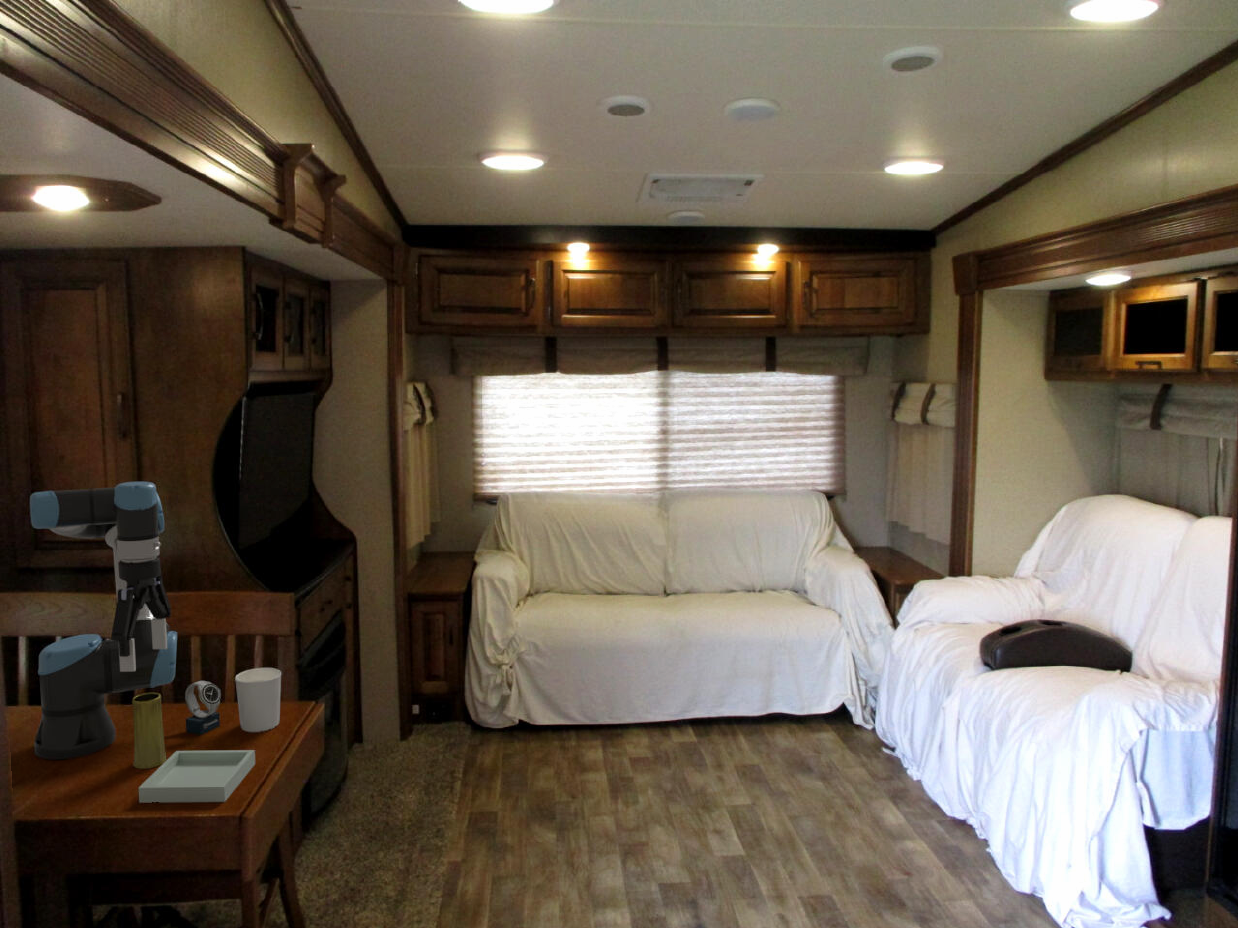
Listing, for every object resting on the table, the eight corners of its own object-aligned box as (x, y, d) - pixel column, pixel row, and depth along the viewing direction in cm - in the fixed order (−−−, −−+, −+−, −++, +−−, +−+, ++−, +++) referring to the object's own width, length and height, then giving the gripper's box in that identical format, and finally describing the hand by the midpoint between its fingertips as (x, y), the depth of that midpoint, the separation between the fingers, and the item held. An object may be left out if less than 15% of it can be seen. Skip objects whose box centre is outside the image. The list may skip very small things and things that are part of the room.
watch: (207, 736, 199) (205, 689, 198) (180, 730, 202) (177, 684, 200) (226, 726, 204) (224, 680, 203) (199, 721, 207) (197, 675, 206)
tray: (139, 802, 169) (138, 787, 169) (177, 764, 185) (176, 750, 185) (224, 801, 170) (224, 786, 170) (255, 763, 186) (254, 749, 186)
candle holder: (253, 714, 211) (251, 666, 210) (291, 718, 209) (289, 669, 208) (228, 731, 202) (225, 680, 200) (267, 735, 200) (266, 683, 198)
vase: (152, 770, 182) (148, 703, 181) (126, 767, 184) (122, 701, 182) (173, 757, 188) (169, 692, 187) (147, 754, 190) (144, 690, 188)
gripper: (127, 573, 169) (133, 680, 171) (185, 545, 193) (189, 640, 196) (86, 573, 168) (93, 681, 171) (149, 545, 193) (154, 640, 195)
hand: (144, 659), depth 183 cm, fingers open, 13 cm apart
